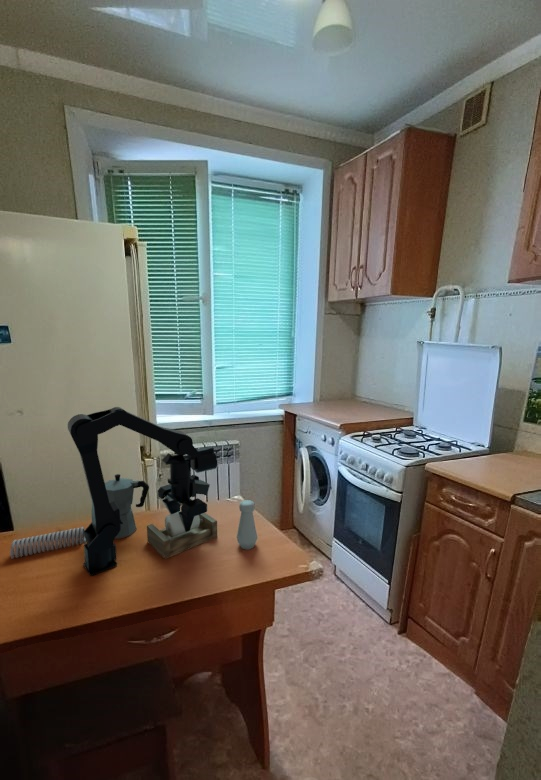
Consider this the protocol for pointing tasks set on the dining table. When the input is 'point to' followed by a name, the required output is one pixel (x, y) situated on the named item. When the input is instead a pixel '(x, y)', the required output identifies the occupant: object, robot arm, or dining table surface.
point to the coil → (47, 542)
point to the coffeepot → (125, 501)
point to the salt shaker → (247, 525)
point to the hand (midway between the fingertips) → (182, 527)
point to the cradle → (181, 537)
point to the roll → (178, 524)
